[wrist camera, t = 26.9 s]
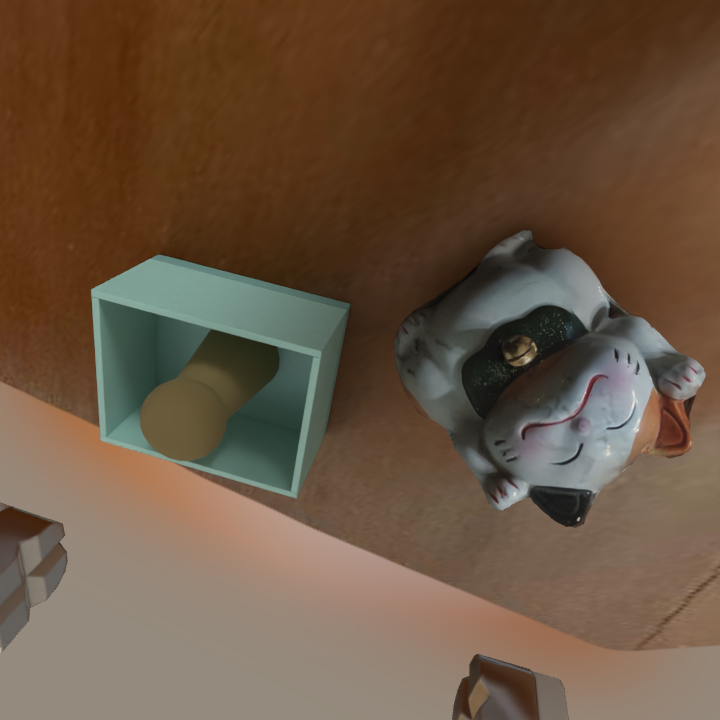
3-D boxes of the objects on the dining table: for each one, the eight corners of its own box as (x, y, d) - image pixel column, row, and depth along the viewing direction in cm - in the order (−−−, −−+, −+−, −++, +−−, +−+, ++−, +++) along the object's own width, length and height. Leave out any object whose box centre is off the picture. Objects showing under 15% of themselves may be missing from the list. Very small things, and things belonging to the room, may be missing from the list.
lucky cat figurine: (570, 192, 32) (756, 320, 22) (603, 320, 40) (752, 459, 30) (360, 322, 34) (440, 496, 24) (431, 420, 42) (514, 583, 32)
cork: (239, 400, 43) (170, 489, 34) (190, 341, 42) (103, 418, 32) (295, 367, 41) (237, 454, 31) (245, 303, 39) (169, 374, 30)
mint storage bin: (90, 289, 33) (100, 440, 39) (322, 351, 32) (296, 498, 38) (158, 253, 40) (158, 386, 46) (351, 303, 39) (325, 434, 45)
